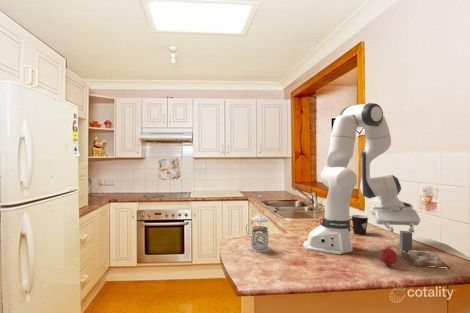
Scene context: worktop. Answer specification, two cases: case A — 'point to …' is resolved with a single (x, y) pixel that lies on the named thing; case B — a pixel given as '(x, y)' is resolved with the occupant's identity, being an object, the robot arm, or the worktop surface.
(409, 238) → the plug
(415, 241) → the worktop surface
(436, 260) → the socket board
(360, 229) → the coffee mug
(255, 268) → the worktop surface
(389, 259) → the onion
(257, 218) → the french press
